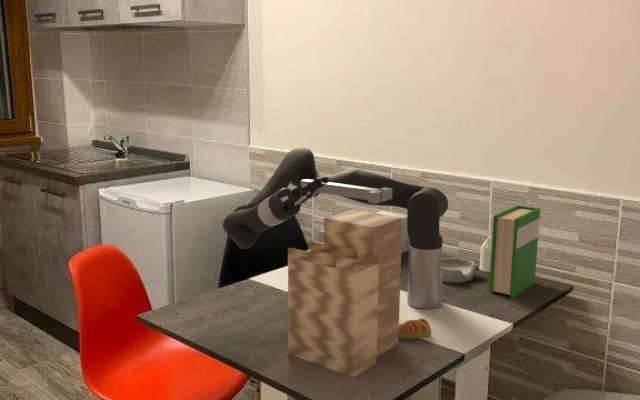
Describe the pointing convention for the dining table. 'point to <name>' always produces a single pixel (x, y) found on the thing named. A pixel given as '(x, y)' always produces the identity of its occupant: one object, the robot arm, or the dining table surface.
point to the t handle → (353, 191)
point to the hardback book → (514, 250)
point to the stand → (346, 292)
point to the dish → (458, 270)
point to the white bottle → (486, 255)
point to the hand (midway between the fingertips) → (323, 181)
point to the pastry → (414, 329)
